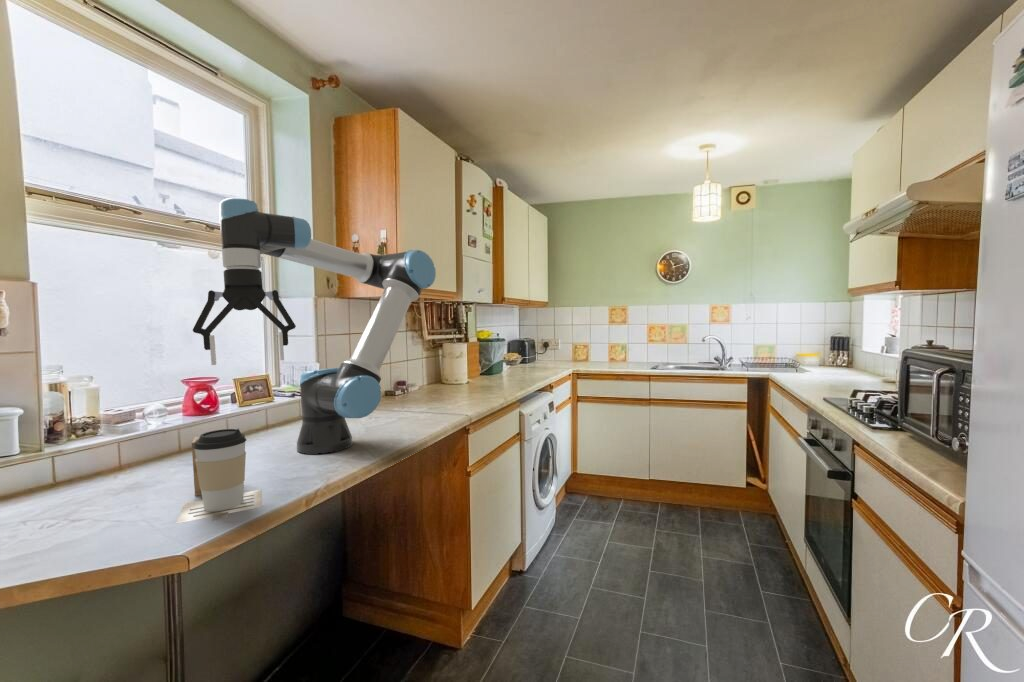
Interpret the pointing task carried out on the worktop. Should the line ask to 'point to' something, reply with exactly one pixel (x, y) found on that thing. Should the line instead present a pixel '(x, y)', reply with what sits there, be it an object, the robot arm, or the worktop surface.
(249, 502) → the cream flat slotted plate
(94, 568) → the worktop surface
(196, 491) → the walnut block
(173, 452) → the worktop surface
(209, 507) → the coffee cup
